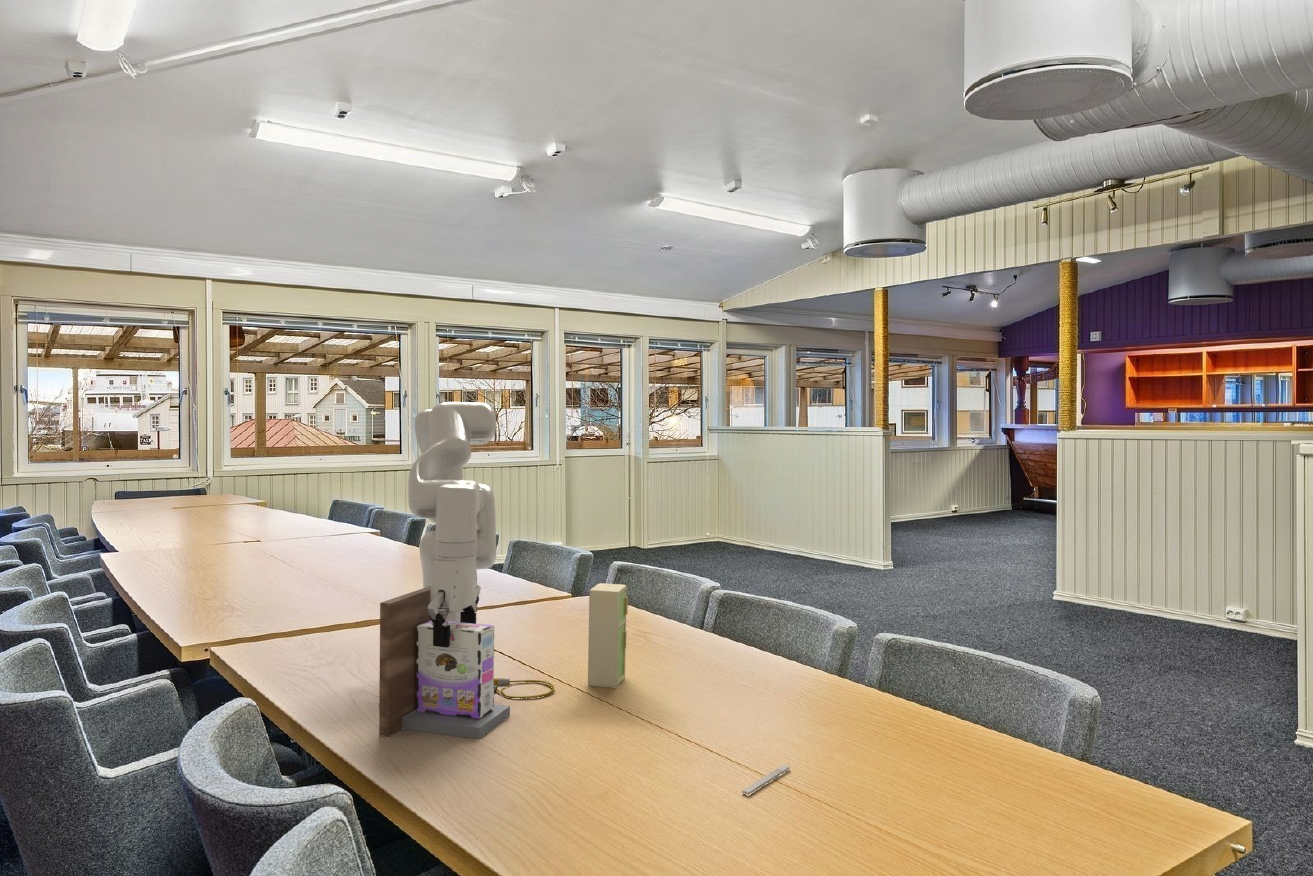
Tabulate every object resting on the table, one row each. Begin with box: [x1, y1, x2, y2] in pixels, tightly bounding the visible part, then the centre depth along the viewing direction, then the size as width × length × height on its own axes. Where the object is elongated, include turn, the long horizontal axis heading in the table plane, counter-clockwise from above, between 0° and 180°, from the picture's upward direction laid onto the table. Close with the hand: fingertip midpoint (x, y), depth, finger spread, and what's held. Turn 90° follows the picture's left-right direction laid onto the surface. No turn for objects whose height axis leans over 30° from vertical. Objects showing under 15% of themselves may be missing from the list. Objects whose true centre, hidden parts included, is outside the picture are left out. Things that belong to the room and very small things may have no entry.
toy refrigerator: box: [587, 582, 629, 689], centre depth 178 cm, size 8×7×21 cm
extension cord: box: [494, 677, 555, 700], centre depth 172 cm, size 12×16×2 cm
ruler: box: [741, 764, 790, 795], centre depth 128 cm, size 12×1×1 cm, turn 141°
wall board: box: [378, 586, 448, 737], centre depth 155 cm, size 2×20×24 cm, turn 164°
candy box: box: [416, 621, 495, 719], centre depth 153 cm, size 14×6×16 cm, turn 72°
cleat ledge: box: [401, 703, 511, 740], centre depth 153 cm, size 16×12×2 cm
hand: (455, 639), depth 153 cm, fingers open, 9 cm apart
